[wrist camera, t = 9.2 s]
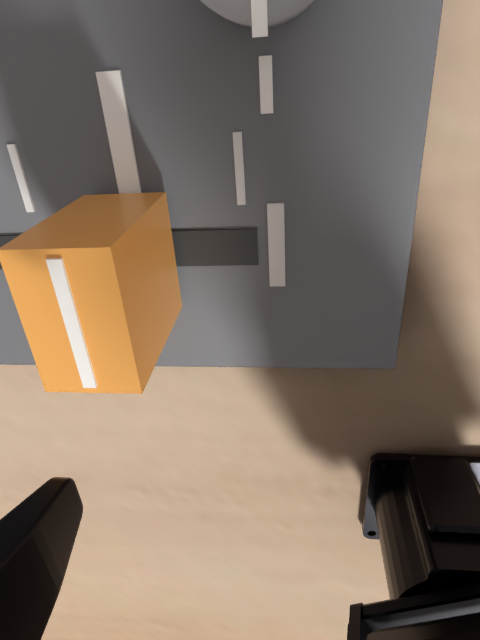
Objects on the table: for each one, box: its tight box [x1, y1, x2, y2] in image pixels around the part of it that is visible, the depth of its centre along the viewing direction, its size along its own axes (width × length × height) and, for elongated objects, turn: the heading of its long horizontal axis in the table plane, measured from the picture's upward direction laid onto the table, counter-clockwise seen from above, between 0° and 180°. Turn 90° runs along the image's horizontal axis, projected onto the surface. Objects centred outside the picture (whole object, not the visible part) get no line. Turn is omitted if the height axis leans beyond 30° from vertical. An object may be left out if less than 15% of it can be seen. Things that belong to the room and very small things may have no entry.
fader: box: [0, 192, 182, 394], centre depth 14 cm, size 4×3×6 cm, turn 4°
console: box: [0, 0, 443, 369], centre depth 16 cm, size 18×26×4 cm
